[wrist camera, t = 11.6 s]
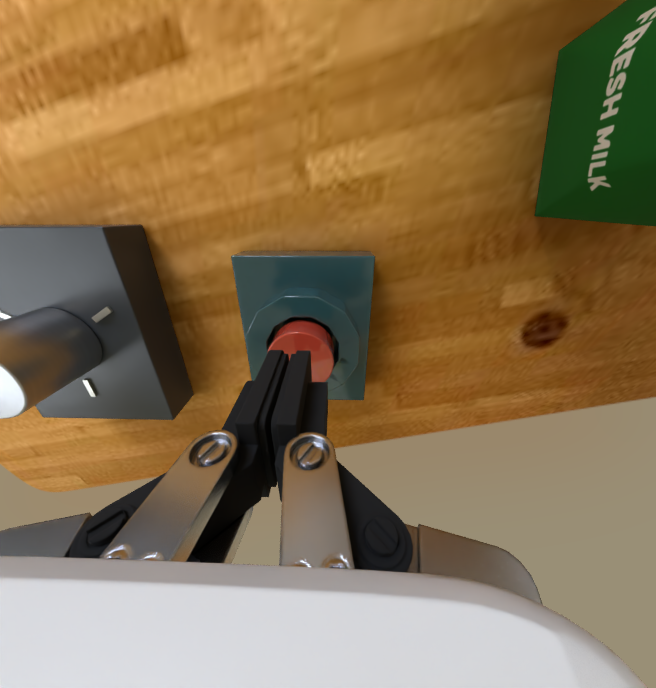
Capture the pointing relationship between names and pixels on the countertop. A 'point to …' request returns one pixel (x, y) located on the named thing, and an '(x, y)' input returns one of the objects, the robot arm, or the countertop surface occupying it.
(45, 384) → the rotary knob
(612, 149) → the milk carton
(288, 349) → the button
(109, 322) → the plate
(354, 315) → the teal button housing
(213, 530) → the robot arm
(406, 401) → the countertop surface
